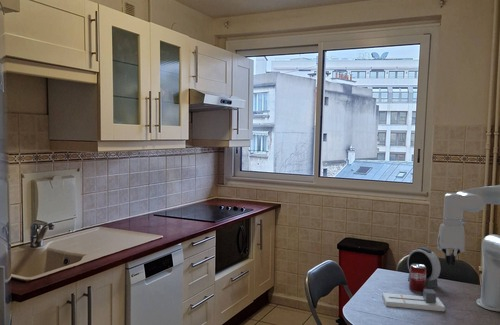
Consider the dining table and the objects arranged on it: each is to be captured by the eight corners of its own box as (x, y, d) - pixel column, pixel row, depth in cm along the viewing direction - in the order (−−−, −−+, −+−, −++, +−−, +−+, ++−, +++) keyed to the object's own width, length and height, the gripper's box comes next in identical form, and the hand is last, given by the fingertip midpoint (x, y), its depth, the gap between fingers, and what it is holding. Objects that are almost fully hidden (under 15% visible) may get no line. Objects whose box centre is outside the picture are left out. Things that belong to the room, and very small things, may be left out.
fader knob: (432, 298, 183) (433, 289, 183) (435, 302, 178) (436, 293, 178) (423, 297, 184) (423, 288, 184) (425, 301, 179) (426, 292, 179)
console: (437, 302, 185) (438, 297, 185) (444, 311, 176) (444, 306, 175) (382, 297, 189) (382, 292, 189) (385, 305, 180) (385, 301, 179)
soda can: (426, 293, 195) (428, 268, 194) (410, 292, 196) (411, 267, 196) (423, 288, 202) (424, 264, 201) (407, 286, 203) (409, 262, 203)
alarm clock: (402, 279, 214) (404, 244, 212) (416, 276, 218) (418, 242, 217) (429, 290, 199) (431, 253, 198) (443, 287, 204) (445, 250, 203)
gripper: (468, 221, 180) (465, 263, 181) (431, 219, 182) (428, 260, 184) (474, 225, 173) (472, 268, 174) (436, 222, 175) (433, 265, 176)
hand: (449, 264), depth 179 cm, fingers closed
